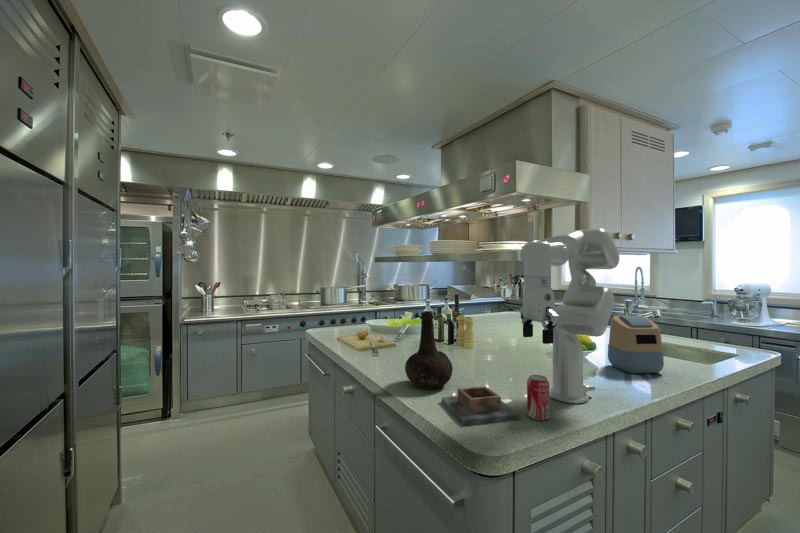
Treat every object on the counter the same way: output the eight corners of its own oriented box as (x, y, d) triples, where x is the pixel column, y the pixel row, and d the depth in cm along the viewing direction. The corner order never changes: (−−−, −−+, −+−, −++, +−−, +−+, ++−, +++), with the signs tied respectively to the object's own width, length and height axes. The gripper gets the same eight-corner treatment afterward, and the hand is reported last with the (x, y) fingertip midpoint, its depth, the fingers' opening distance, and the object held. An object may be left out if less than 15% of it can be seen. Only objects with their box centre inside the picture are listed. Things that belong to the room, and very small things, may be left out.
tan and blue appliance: (628, 375, 144) (628, 319, 144) (604, 364, 161) (604, 314, 161) (668, 375, 145) (668, 319, 145) (640, 364, 161) (639, 314, 161)
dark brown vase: (462, 387, 130) (461, 312, 130) (422, 397, 121) (422, 316, 121) (433, 375, 145) (433, 308, 145) (396, 382, 136) (396, 310, 136)
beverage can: (527, 411, 108) (527, 373, 108) (549, 414, 106) (549, 375, 106) (526, 419, 103) (526, 379, 103) (549, 423, 100) (549, 381, 100)
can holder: (490, 397, 120) (490, 381, 121) (520, 419, 103) (520, 400, 103) (441, 401, 116) (441, 385, 116) (463, 425, 99) (463, 406, 99)
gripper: (568, 284, 97) (568, 345, 97) (531, 281, 114) (531, 334, 114) (544, 284, 95) (544, 347, 95) (510, 281, 112) (510, 335, 112)
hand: (537, 340), depth 104 cm, fingers open, 9 cm apart
